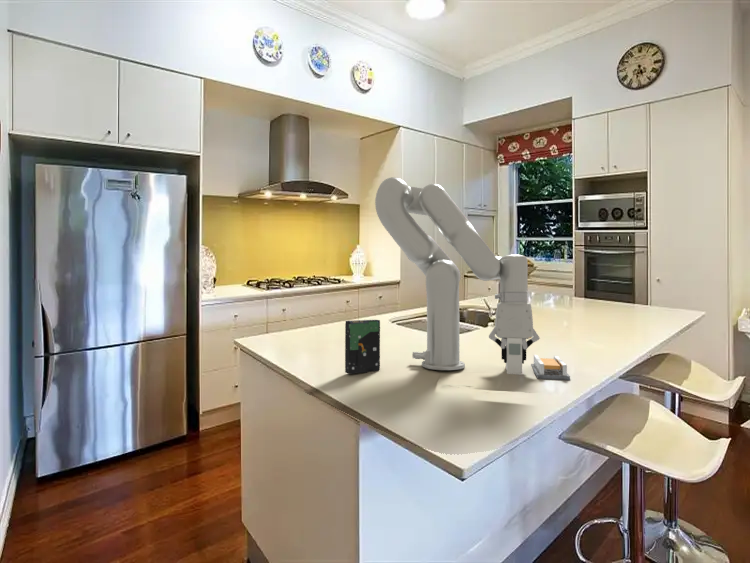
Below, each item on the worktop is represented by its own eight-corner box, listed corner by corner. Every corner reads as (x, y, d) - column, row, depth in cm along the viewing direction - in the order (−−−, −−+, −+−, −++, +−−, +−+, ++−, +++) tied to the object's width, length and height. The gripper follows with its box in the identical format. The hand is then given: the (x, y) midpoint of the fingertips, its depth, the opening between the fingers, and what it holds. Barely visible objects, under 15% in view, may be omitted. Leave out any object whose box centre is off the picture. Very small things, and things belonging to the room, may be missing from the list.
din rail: (537, 378, 117) (537, 364, 117) (531, 367, 133) (531, 354, 133) (570, 380, 115) (570, 365, 115) (559, 368, 131) (559, 355, 131)
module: (507, 374, 123) (507, 338, 123) (505, 369, 130) (505, 335, 130) (522, 374, 122) (522, 338, 122) (520, 369, 129) (520, 335, 129)
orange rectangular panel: (544, 368, 119) (544, 365, 119) (539, 361, 130) (539, 358, 130) (560, 369, 118) (560, 365, 118) (553, 362, 129) (553, 358, 129)
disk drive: (375, 369, 130) (375, 318, 130) (380, 370, 128) (380, 319, 128) (344, 373, 125) (344, 320, 125) (348, 374, 122) (348, 321, 122)
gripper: (483, 298, 124) (483, 363, 124) (546, 299, 120) (546, 366, 121) (483, 297, 132) (483, 359, 132) (543, 298, 128) (543, 361, 128)
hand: (513, 361), depth 126 cm, fingers closed on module, 4 cm apart
